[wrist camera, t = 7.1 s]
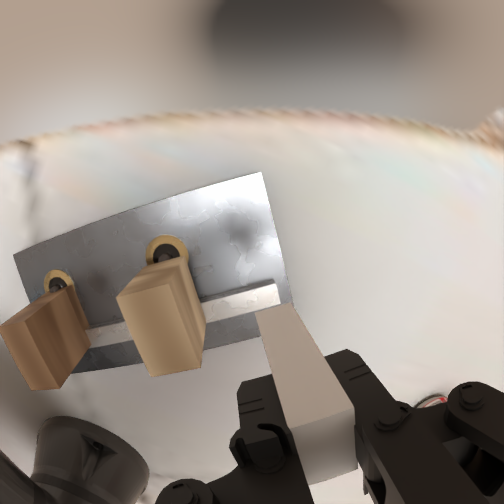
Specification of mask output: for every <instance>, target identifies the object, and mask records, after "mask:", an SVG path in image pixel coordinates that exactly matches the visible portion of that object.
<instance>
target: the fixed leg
mask: <svg viewBox="0 0 504 504" xmlns="http://www.w3.org/2000/svg"><path fill="white" fill-rule="evenodd" d="M88 327H89V323H88V321H87V318H86V316H85V314H84V311H83V309H82V307H81V304H80V302H79V299H78V297H77V294H76V292H75V291H74V288H73V286H72V285H69V286H66V287H63V288H61V286H60V285H58V284H56V285H55V286H53V287H52V288H51V289H50V291H49V292H46V293H45V294H43V295H42V296H40V297H39V298H38V299H36V300H35V301H33V302H32V303H31V304H29V305H28V306H26V307H25V308H24V309H22V310H21V311H19V312H18V313H17V314H15V315H14V316H13V317H11V318H10V319H9V320H7V321H6V322H5V323H3V324H2V325H1V326H0V333H1V335H2V337H3V339H4V342H5V344H6V346H7V348H8V350H9V352H10V354H11V355H12V357H13V359H14V361H15V363H16V365H17V367H18V369H19V370H20V372H21V374H22V376H23V377H24V379H25V381H26V382H27V384H28V386H29V387H30V389H31V391H33V390H49V389H60V388H61V386H62V385H63V383H64V382H65V381H66V379H67V378H68V376H69V375H70V373H71V372H72V371H73V369H74V368H75V366H76V365H77V364H78V362H79V361H80V360H81V358H82V357H83V355H84V354H85V353H86V351H87V350H88V349H89V347H90V346H91V345H92V344H91V342H90V340H89V338H88V336H87V334H86V332H85V330H86V329H87V328H88Z"/></svg>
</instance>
